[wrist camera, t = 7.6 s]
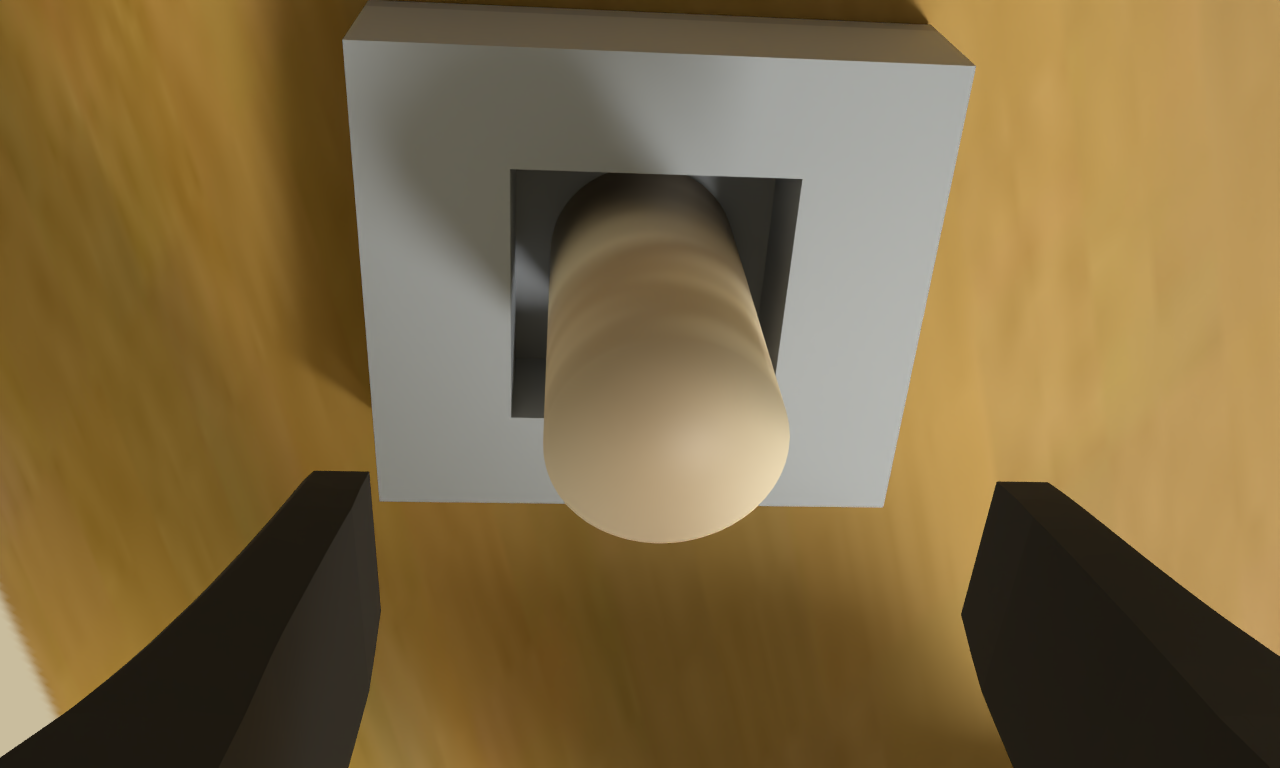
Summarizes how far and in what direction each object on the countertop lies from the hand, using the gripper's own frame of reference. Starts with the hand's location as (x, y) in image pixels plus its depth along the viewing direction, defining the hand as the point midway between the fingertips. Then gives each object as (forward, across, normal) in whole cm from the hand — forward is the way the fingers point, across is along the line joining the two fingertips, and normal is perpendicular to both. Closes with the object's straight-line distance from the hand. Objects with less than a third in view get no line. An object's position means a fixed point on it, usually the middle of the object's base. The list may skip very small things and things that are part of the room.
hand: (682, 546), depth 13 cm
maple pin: (+8, 0, 0) cm, 8 cm away
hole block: (+8, 0, 0) cm, 8 cm away
